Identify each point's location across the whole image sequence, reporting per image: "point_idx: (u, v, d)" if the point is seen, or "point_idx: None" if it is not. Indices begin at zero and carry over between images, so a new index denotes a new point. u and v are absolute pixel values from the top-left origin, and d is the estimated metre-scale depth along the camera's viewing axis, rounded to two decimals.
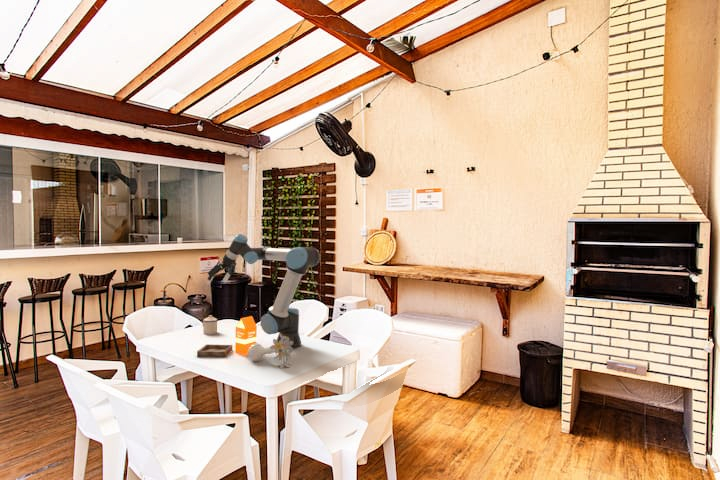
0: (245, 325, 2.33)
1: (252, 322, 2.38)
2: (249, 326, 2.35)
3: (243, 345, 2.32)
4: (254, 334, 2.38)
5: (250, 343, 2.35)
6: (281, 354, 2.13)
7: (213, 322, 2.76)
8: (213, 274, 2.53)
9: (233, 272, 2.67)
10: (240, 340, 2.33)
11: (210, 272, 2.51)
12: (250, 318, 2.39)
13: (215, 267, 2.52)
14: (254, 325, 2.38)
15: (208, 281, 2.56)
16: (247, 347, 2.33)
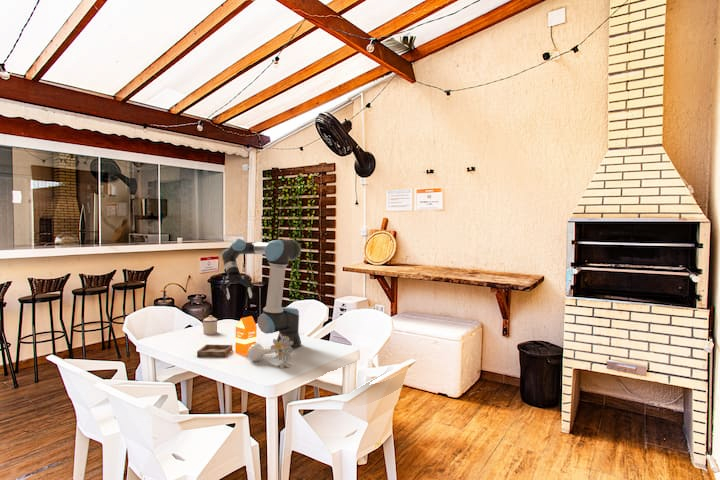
0: (245, 325, 2.33)
1: (252, 322, 2.38)
2: (249, 326, 2.35)
3: (243, 345, 2.32)
4: (254, 334, 2.38)
5: (250, 343, 2.35)
6: (281, 354, 2.13)
7: (213, 322, 2.76)
8: (225, 286, 2.47)
9: (251, 284, 2.57)
10: (240, 340, 2.33)
11: (221, 286, 2.47)
12: (250, 318, 2.39)
13: None
14: (254, 325, 2.38)
15: (227, 295, 2.45)
16: (247, 347, 2.33)
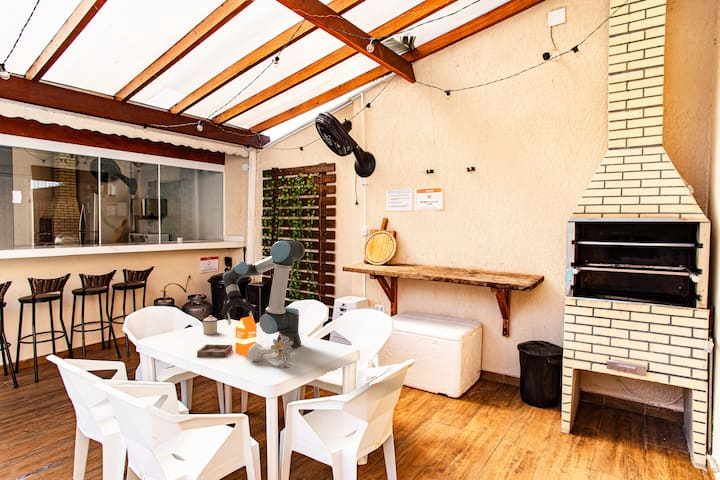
0: (245, 325, 2.33)
1: (252, 322, 2.38)
2: (249, 326, 2.35)
3: (243, 345, 2.32)
4: (254, 334, 2.38)
5: (250, 343, 2.35)
6: (281, 354, 2.13)
7: (213, 322, 2.76)
8: (226, 310, 2.41)
9: (253, 308, 2.51)
10: (240, 340, 2.33)
11: None
12: (250, 318, 2.39)
13: None
14: (254, 325, 2.38)
15: (228, 321, 2.38)
16: (247, 347, 2.33)
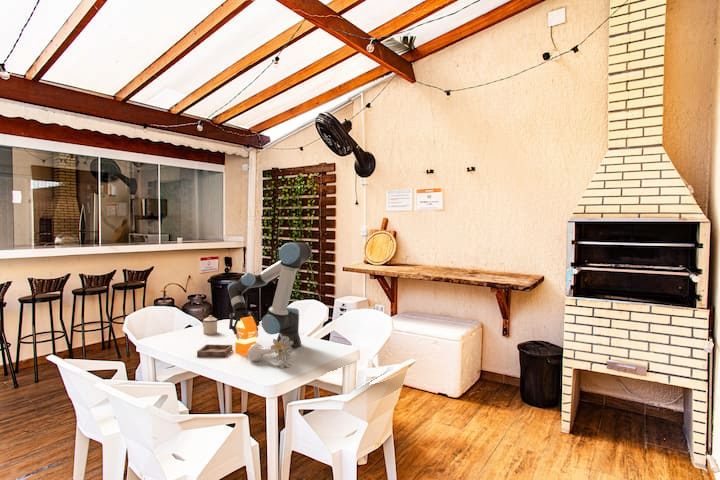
0: (245, 325, 2.33)
1: (252, 322, 2.38)
2: (249, 326, 2.35)
3: (243, 345, 2.32)
4: (254, 334, 2.38)
5: (250, 343, 2.35)
6: (281, 354, 2.13)
7: (213, 322, 2.76)
8: (234, 325, 2.35)
9: (257, 322, 2.43)
10: (240, 340, 2.33)
11: (229, 325, 2.35)
12: (250, 318, 2.39)
13: (230, 319, 2.38)
14: (254, 325, 2.38)
15: (237, 335, 2.32)
16: (247, 347, 2.33)
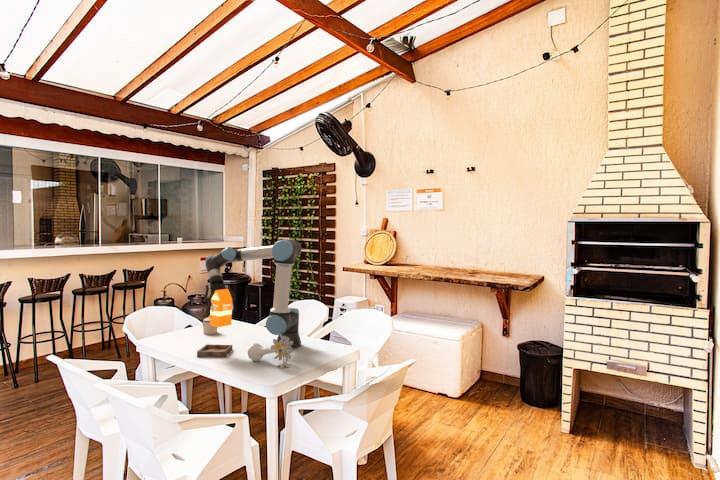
0: (220, 297, 2.30)
1: (228, 295, 2.35)
2: (224, 298, 2.32)
3: (217, 317, 2.29)
4: (229, 307, 2.35)
5: (225, 316, 2.32)
6: (281, 354, 2.13)
7: None
8: (209, 297, 2.32)
9: (233, 295, 2.40)
10: (215, 312, 2.30)
11: None
12: (226, 291, 2.36)
13: None
14: (230, 298, 2.35)
15: (211, 307, 2.29)
16: (222, 319, 2.30)
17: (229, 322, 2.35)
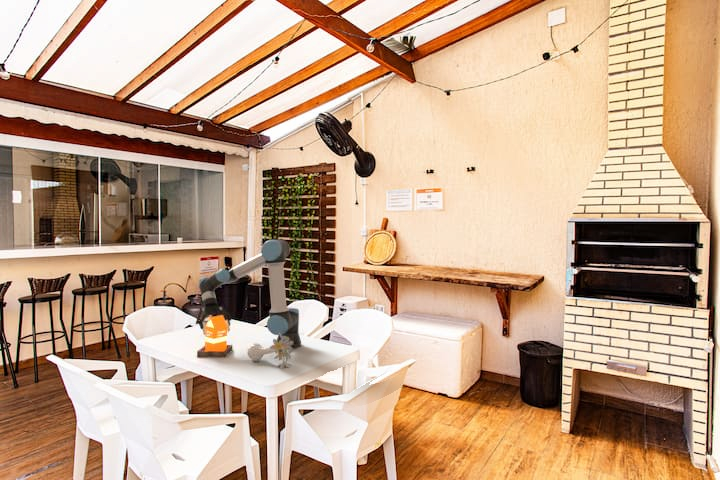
0: (214, 324, 2.29)
1: (222, 321, 2.34)
2: (218, 325, 2.30)
3: (211, 345, 2.28)
4: (224, 333, 2.33)
5: (220, 343, 2.31)
6: (281, 354, 2.13)
7: None
8: (201, 319, 2.31)
9: (229, 316, 2.40)
10: (209, 339, 2.29)
11: None
12: (220, 317, 2.34)
13: None
14: (224, 324, 2.34)
15: (203, 330, 2.28)
16: (216, 346, 2.29)
17: (224, 349, 2.34)
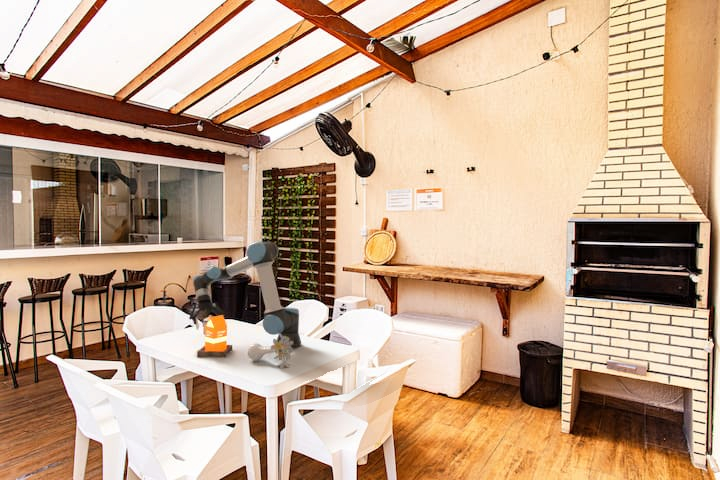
0: (214, 324, 2.29)
1: (222, 321, 2.34)
2: (218, 325, 2.30)
3: (212, 344, 2.28)
4: (224, 333, 2.33)
5: (220, 343, 2.31)
6: (281, 354, 2.13)
7: None
8: (194, 315, 2.41)
9: (222, 312, 2.51)
10: (209, 339, 2.29)
11: (190, 315, 2.41)
12: (220, 317, 2.34)
13: (192, 310, 2.44)
14: (224, 324, 2.34)
15: (196, 325, 2.38)
16: (216, 346, 2.29)
17: (224, 349, 2.34)
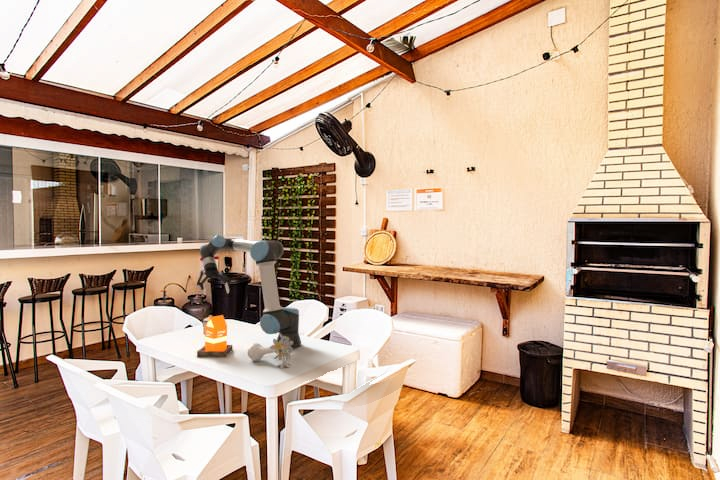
0: (214, 324, 2.29)
1: (222, 321, 2.34)
2: (218, 325, 2.30)
3: (212, 344, 2.28)
4: (224, 333, 2.33)
5: (220, 343, 2.31)
6: (281, 354, 2.13)
7: None
8: None
9: (229, 279, 2.57)
10: (209, 339, 2.29)
11: None
12: (220, 317, 2.34)
13: None
14: (224, 324, 2.34)
15: (204, 290, 2.44)
16: (216, 346, 2.29)
17: (224, 349, 2.34)
